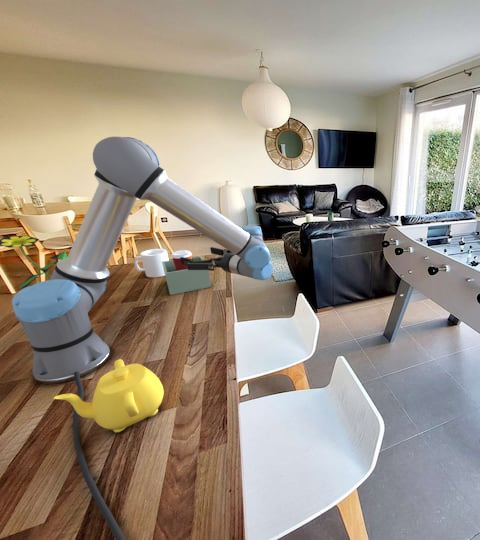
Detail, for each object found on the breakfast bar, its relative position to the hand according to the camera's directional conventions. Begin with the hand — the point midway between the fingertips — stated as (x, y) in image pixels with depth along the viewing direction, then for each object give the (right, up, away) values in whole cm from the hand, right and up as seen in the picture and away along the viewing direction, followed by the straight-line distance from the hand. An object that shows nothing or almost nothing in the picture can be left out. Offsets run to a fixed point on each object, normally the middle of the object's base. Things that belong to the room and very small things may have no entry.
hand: (197, 255), depth 117 cm
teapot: (+13, -40, -52) cm, 66 cm away
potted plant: (-34, -23, -17) cm, 44 cm away
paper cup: (-11, -12, +12) cm, 20 cm away
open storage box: (-10, -12, +11) cm, 20 cm away
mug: (-31, -8, +21) cm, 39 cm away
